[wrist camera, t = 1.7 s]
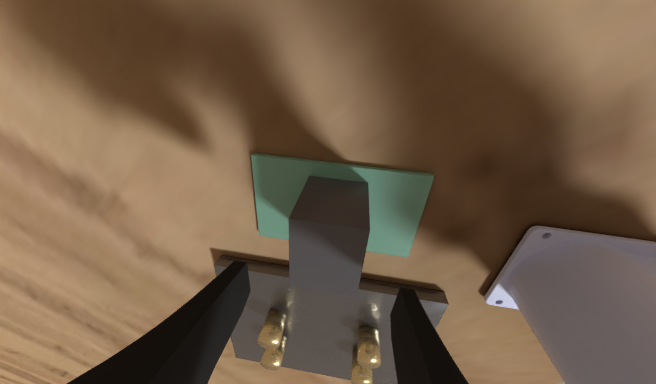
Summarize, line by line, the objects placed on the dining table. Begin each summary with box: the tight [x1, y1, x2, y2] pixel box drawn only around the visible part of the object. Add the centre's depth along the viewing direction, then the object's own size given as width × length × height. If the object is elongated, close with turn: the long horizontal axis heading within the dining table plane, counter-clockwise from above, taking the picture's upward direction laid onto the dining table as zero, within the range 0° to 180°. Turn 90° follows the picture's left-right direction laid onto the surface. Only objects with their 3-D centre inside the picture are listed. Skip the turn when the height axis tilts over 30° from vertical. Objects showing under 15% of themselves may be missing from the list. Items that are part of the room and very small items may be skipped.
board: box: [251, 153, 435, 297], centre depth 15 cm, size 12×7×6 cm, turn 86°
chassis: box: [214, 255, 449, 384], centre depth 23 cm, size 20×16×4 cm
